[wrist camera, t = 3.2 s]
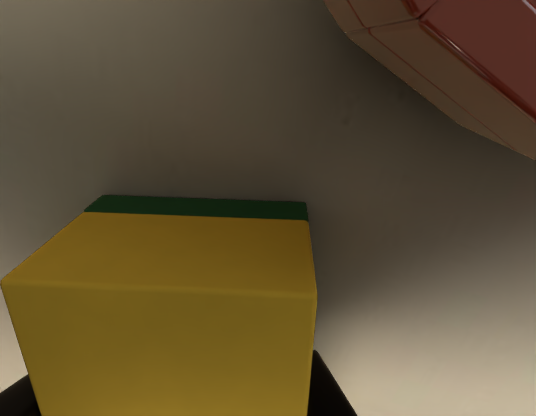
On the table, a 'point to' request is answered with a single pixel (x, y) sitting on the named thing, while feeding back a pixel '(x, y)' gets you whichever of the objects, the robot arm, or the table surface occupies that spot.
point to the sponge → (170, 309)
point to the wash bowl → (457, 58)
